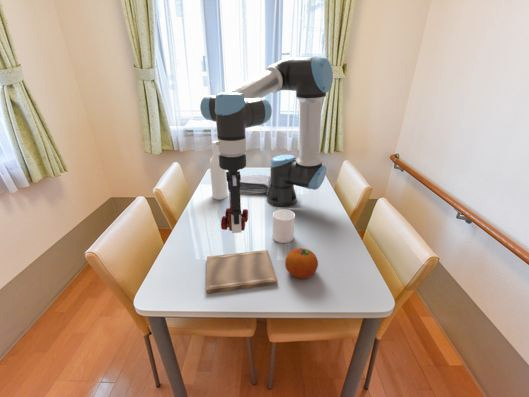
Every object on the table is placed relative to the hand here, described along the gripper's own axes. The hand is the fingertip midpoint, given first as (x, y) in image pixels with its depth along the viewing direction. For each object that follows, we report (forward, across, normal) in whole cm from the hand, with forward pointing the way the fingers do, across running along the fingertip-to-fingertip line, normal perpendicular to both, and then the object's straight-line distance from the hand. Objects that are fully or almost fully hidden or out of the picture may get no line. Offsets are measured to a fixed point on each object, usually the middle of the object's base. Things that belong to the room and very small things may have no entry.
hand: (235, 221), depth 82 cm
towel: (+19, -64, +14) cm, 69 cm away
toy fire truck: (+2, 0, 0) cm, 2 cm away
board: (+19, +1, +1) cm, 19 cm away
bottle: (+19, -58, -5) cm, 61 cm away
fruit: (+19, +5, +21) cm, 29 cm away
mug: (+19, -18, +20) cm, 33 cm away
